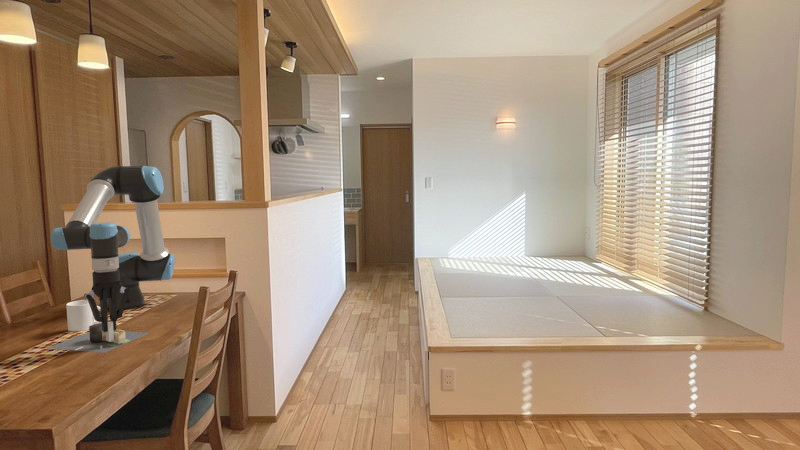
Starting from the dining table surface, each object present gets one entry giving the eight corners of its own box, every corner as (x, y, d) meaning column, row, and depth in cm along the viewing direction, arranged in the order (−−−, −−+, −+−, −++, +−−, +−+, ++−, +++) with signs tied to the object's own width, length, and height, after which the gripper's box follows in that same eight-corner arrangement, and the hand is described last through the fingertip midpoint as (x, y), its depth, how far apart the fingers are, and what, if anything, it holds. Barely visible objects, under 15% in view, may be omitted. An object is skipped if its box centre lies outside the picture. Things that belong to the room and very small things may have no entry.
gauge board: (97, 332, 173) (97, 328, 173) (149, 336, 169) (149, 332, 169) (46, 351, 154) (46, 347, 154) (104, 356, 150) (104, 352, 149)
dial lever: (86, 341, 160) (85, 327, 159) (103, 336, 165) (102, 322, 165) (115, 347, 154) (115, 332, 153) (132, 341, 159) (131, 327, 159)
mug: (101, 332, 173) (99, 304, 172) (64, 335, 170) (62, 306, 169) (109, 325, 182) (107, 298, 180) (73, 328, 178) (71, 300, 177)
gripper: (87, 274, 146) (91, 348, 148) (132, 268, 156) (135, 337, 158) (78, 271, 151) (83, 343, 153) (122, 266, 161) (126, 333, 163)
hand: (110, 340), depth 156 cm, fingers closed
